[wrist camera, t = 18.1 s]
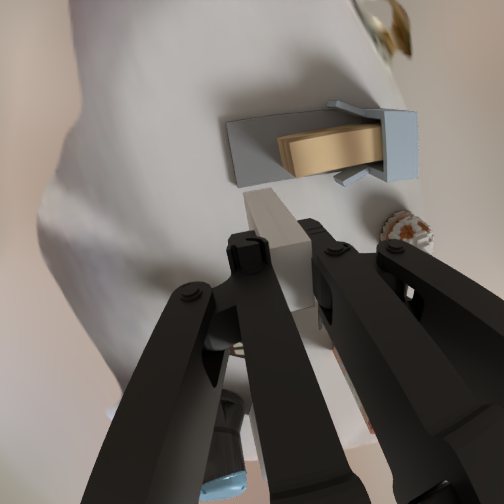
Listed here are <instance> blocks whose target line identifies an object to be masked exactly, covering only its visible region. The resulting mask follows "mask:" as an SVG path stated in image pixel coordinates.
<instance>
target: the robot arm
mask: <svg viewBox="0 0 504 504" xmlns="http://www.w3.org/2000/svg"><path fill="white" fill-rule="evenodd" d="M243 196H244V202H245V207H246V213H247V219H248V224H249V230H250V231H246V232H241V233H236V234H232V235H231V236H230V238H229V239H228V246H227V249H226V252H227V256H228V260H229V265H230V269H231V276H230V278H229V279H228V280H227V281H225V282H224V283H223V284H221V285H219V286H217V287H214V288H211V286H210V285H209V284H207V283H205V282H197V281H196V282H189V283H186V284H184V285H182V286H180V287H179V288H177V289H176V290H175V291H174V292H173V293H172V295H171V296H170V298H169V300H168V302H167V304H166V306H165V308H164V310H163V312H162V314H161V316H160V318H159V320H158V322H157V324H156V326H155V328H154V330H153V332H152V335H151V337H150V339H149V341H148V343H147V345H146V347H145V349H144V351H143V353H142V355H141V358H140V360H139V362H138V364H137V366H136V368H135V370H134V373H133V375H132V377H131V379H130V381H129V384H128V386H127V388H126V390H125V393H124V395H123V397H122V399H121V402H120V404H119V406H118V408H117V411H116V413H115V415H114V418H113V420H112V423H111V425H110V427H109V430H108V432H107V435H106V438H105V440H104V442H103V444H102V447H101V449H100V452H99V455H98V457H97V460H96V462H95V465H94V467H93V470H92V473H91V475H90V478H89V481H88V484H87V486H86V489H85V492H84V495H83V497H82V500H81V503H80V504H198V502H199V501H201V502H202V501H216V500H223V499H227V498H232V497H235V496H237V495H240V494H241V493H243V492H244V491H245V490H246V488H247V479H246V474H247V472H246V469H245V463H244V457H243V451H242V444H241V438H240V431H241V426H242V422H243V418H244V414H245V409H244V403H243V400H242V399H241V398H240V397H239V396H238V395H236V394H234V393H232V392H229V391H226V390H222V386H223V381H224V376H225V372H226V367H227V362H228V357H229V352H230V351H229V347H230V346H232V345H235V344H237V343H239V342H241V341H242V344H243V350H244V356H245V362H246V367H247V373H248V379H249V385H250V390H251V396H252V402H253V407H254V413H255V418H256V424H257V429H258V434H259V440H260V445H261V450H262V455H263V460H264V465H265V470H266V475H267V480H268V486H269V491H270V504H371V501H370V498H369V496H368V494H367V491H366V489H365V487H364V485H363V483H362V481H361V480H360V478H359V477H358V476H357V475H356V474H354V473H353V472H352V470H351V468H350V466H349V464H348V462H347V459H346V456H345V453H344V451H343V448H342V445H341V443H340V440H339V437H338V435H337V432H336V429H335V426H334V424H333V421H332V418H331V416H330V413H329V410H328V408H327V405H326V402H325V400H324V397H323V395H322V392H321V389H320V387H319V384H318V381H317V379H316V376H315V374H314V371H313V368H312V366H311V363H310V360H309V358H308V355H307V353H306V350H305V348H304V345H303V342H302V340H301V337H300V335H299V332H298V329H297V327H296V324H295V322H294V319H293V317H292V314H291V311H296V310H300V309H304V308H308V307H312V306H315V304H314V295H315V297H316V299H317V301H318V320H319V330H320V329H322V323H324V325H325V327H326V330H327V332H328V334H329V336H330V338H331V340H332V342H333V344H334V346H335V348H336V350H337V352H338V354H339V356H340V358H341V361H342V363H343V365H344V367H345V369H346V371H347V373H348V375H349V377H350V380H351V382H352V384H353V386H354V388H355V390H356V393H357V395H358V397H359V399H360V401H361V403H362V406H363V408H364V410H365V412H366V414H367V417H368V419H369V421H370V423H371V426H372V428H373V430H374V432H375V435H376V437H377V439H378V441H379V444H380V446H381V448H382V450H383V453H384V455H385V457H386V460H387V462H388V464H389V467H390V469H391V472H392V475H393V493H394V496H395V499H396V502H397V504H504V300H502V299H501V298H499V297H498V296H496V295H495V294H493V293H492V292H490V291H489V290H487V289H486V288H484V287H483V286H481V285H479V284H478V283H476V282H475V281H473V280H471V279H470V278H468V277H467V276H465V275H463V274H462V273H460V272H458V271H457V270H455V269H453V268H452V267H450V266H448V265H447V264H445V263H443V262H442V261H440V260H438V259H436V258H435V257H433V256H431V255H429V254H428V253H426V252H424V251H422V250H420V249H419V248H417V247H415V246H413V245H411V244H409V243H408V242H405V241H402V240H398V239H387V240H383V241H381V242H380V243H378V245H377V251H376V253H359V252H358V251H357V250H356V249H355V248H354V247H353V246H351V245H350V244H348V243H345V242H339V241H336V240H335V239H334V238H333V237H332V236H331V235H330V234H329V232H327V230H326V229H325V228H323V226H322V225H321V224H320V223H319V222H318V221H316V220H314V219H311V218H308V219H303V220H298V221H296V219H295V218H294V217H293V215H292V214H291V213H290V211H289V210H288V209H287V207H286V206H285V205H284V203H283V202H282V201H281V200H280V198H279V197H278V196H277V194H276V193H275V192H274V191H273V189H272V188H266V189H260V190H255V191H249V192H244V193H243ZM408 286H410V287H411V288H413V289H414V295H413V298H412V299H411V298H409V297H408V296H406V295H407V290H408Z"/></svg>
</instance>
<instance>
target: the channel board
mask: <svg viewBox="0 0 504 504" xmlns="http://www.w3.org/2000/svg"><path fill="white" fill-rule="evenodd" d="M327 107H330V108H333V109H336V110H322V111H309V112H298V113H289V114H280V115H272V116H265V117H258V118H251V119H245V120H238V121H233V122H227V123H226V127H227V132H228V138H229V143H230V149H231V154H232V160H233V165H234V171H235V176H236V182H237V187H238V188H242V187H247V186H252V185H258V184H263V183H269V182H275V181H280V180H286V179H293V178H295V177H294V176H293V175H292V174H290V173H289V172H288V171H287V170H285V169H284V168H283V165H282V160H281V155H280V151H279V146H278V142H277V138H279V137H283V136H288V135H293V134H298V133H303V132H308V131H313V130H319V129H325V128H331V127H337V126H343V125H350V124H357V123H364V122H372V121H374V122H381V125H382V140H383V160H380V161H374V162H369V163H364V164H359V165H354V166H349V167H344V168H340V169H335V170H330V171H326V172H321V173H317V174H312V175H319V174H326V173H333V172H340V171H342V172H340V173H338V174H337V175H335V176H333V177H334V179H335V181H336V182H337V183H339V184H341V185H342V186H344V187H346V186H347V185H349V184H351V183H353V182H355V181H356V180H358V179H360V178H362V177H363V176H365V175H367V174H371V175H373V176H375V177H377V178H379V179H381V180H383V181H385V182H395V181H403V180H411V179H418V174H419V146H418V120H417V112H415V111H405V110H395V109H382V108H369V109H360V108H357V107H354V106H352V105H349V104H346V103H343V102H340V101H337V100H334V101H327ZM312 175H308V176H312ZM304 177H305V176H304Z"/></svg>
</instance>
